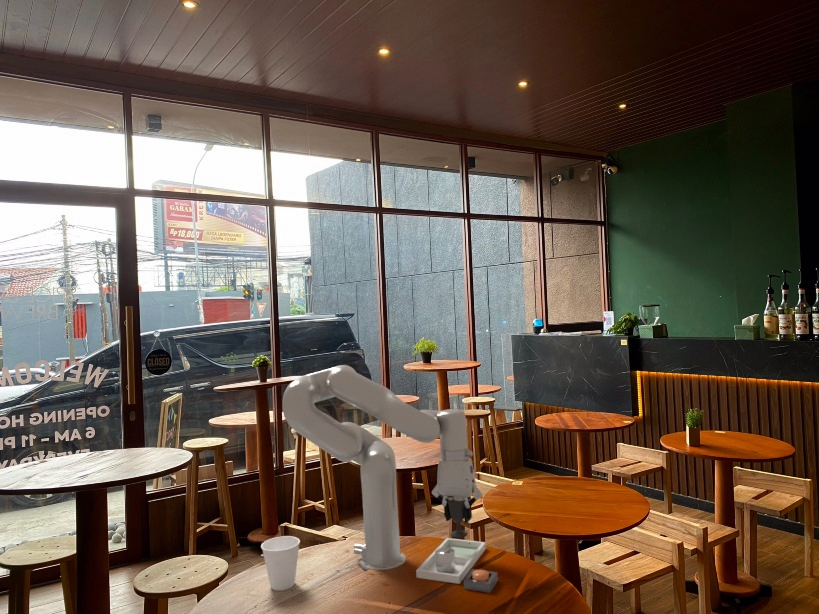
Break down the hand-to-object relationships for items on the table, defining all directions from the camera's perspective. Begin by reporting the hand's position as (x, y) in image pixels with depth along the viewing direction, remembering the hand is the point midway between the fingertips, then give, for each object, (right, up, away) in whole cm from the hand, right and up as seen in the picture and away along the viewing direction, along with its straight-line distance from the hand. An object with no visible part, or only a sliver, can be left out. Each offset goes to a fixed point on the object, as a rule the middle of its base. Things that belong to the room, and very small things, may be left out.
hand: (458, 519), depth 164 cm
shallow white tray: (-2, -11, -5) cm, 12 cm away
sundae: (0, -4, 0) cm, 4 cm away
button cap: (+4, -9, -19) cm, 21 cm away
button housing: (+4, -10, -19) cm, 22 cm away
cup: (-46, -13, -11) cm, 49 cm away
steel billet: (-4, -10, -10) cm, 15 cm away
